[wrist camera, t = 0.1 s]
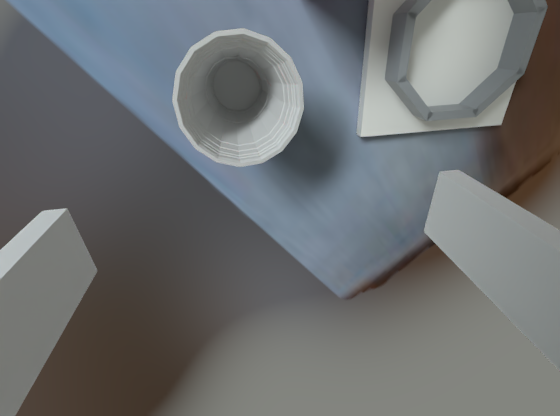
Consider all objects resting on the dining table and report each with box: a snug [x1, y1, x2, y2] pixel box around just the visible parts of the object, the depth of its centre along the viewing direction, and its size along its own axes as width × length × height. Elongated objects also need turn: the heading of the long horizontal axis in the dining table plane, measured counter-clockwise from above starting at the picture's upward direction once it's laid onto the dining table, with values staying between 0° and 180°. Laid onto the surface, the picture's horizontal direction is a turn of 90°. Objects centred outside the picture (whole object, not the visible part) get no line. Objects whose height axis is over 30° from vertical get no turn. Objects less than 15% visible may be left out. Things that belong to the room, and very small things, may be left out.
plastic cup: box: [172, 28, 304, 167], centre depth 29 cm, size 11×11×12 cm
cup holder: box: [356, 0, 548, 137], centre depth 33 cm, size 20×20×4 cm
